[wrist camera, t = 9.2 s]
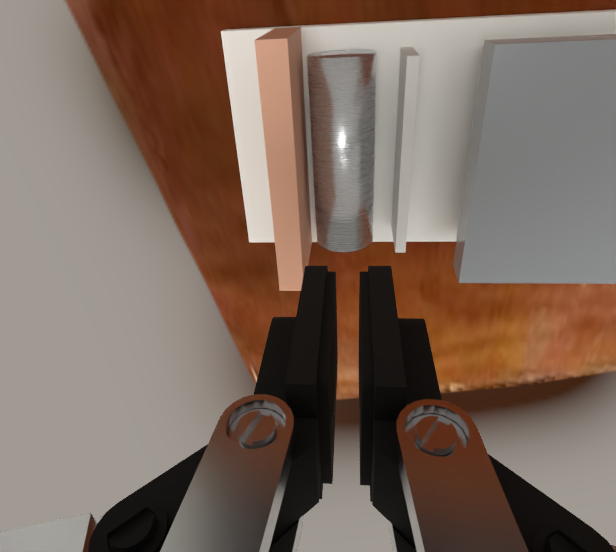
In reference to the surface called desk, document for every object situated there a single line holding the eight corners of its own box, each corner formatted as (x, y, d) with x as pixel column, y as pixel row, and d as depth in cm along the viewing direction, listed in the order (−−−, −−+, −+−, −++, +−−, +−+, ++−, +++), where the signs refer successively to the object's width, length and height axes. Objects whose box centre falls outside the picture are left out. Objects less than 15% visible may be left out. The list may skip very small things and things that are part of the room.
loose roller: (381, 47, 20) (369, 57, 18) (377, 228, 25) (367, 254, 23) (317, 50, 21) (297, 59, 19) (325, 223, 26) (310, 249, 24)
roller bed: (881, -5, 19) (1070, 0, 14) (755, 231, 25) (857, 294, 20) (225, 29, 22) (187, 43, 17) (252, 234, 28) (229, 290, 23)
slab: (774, 26, 16) (810, 30, 15) (669, 266, 22) (689, 283, 20) (484, 40, 17) (494, 44, 16) (452, 266, 23) (458, 283, 21)
